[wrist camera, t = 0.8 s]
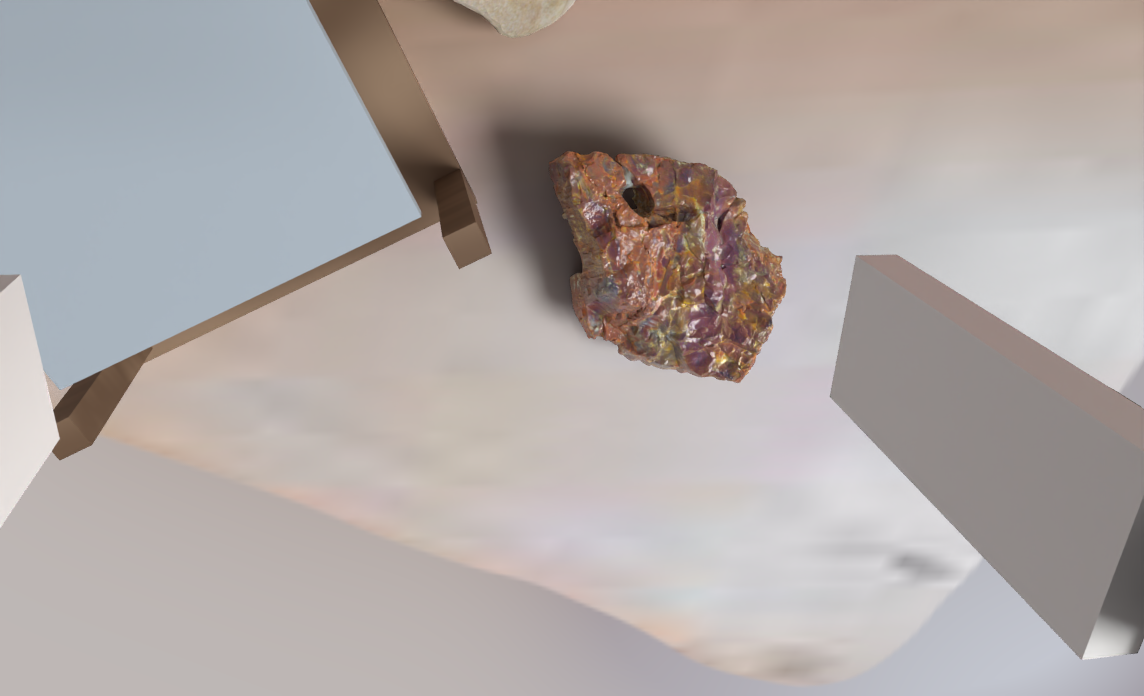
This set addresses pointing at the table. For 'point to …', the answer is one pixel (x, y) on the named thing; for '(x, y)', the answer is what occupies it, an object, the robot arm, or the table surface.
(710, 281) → the mineral specimen
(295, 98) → the trapdoor
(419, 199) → the frame
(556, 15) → the stone
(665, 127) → the table surface
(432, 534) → the table surface
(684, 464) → the table surface
